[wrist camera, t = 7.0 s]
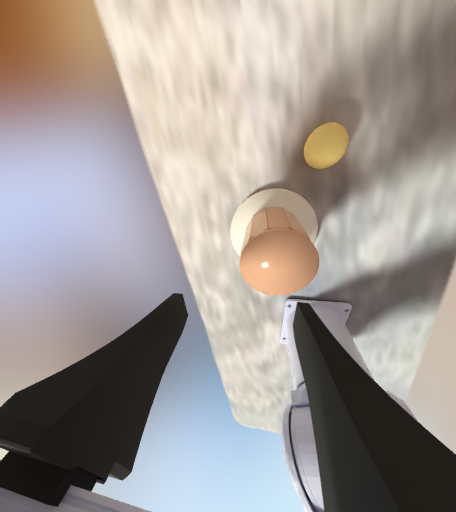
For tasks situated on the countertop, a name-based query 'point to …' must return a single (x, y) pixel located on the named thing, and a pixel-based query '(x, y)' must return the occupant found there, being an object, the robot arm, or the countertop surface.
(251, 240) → the cup
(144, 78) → the countertop surface
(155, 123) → the countertop surface
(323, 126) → the ball
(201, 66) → the countertop surface
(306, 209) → the dish
